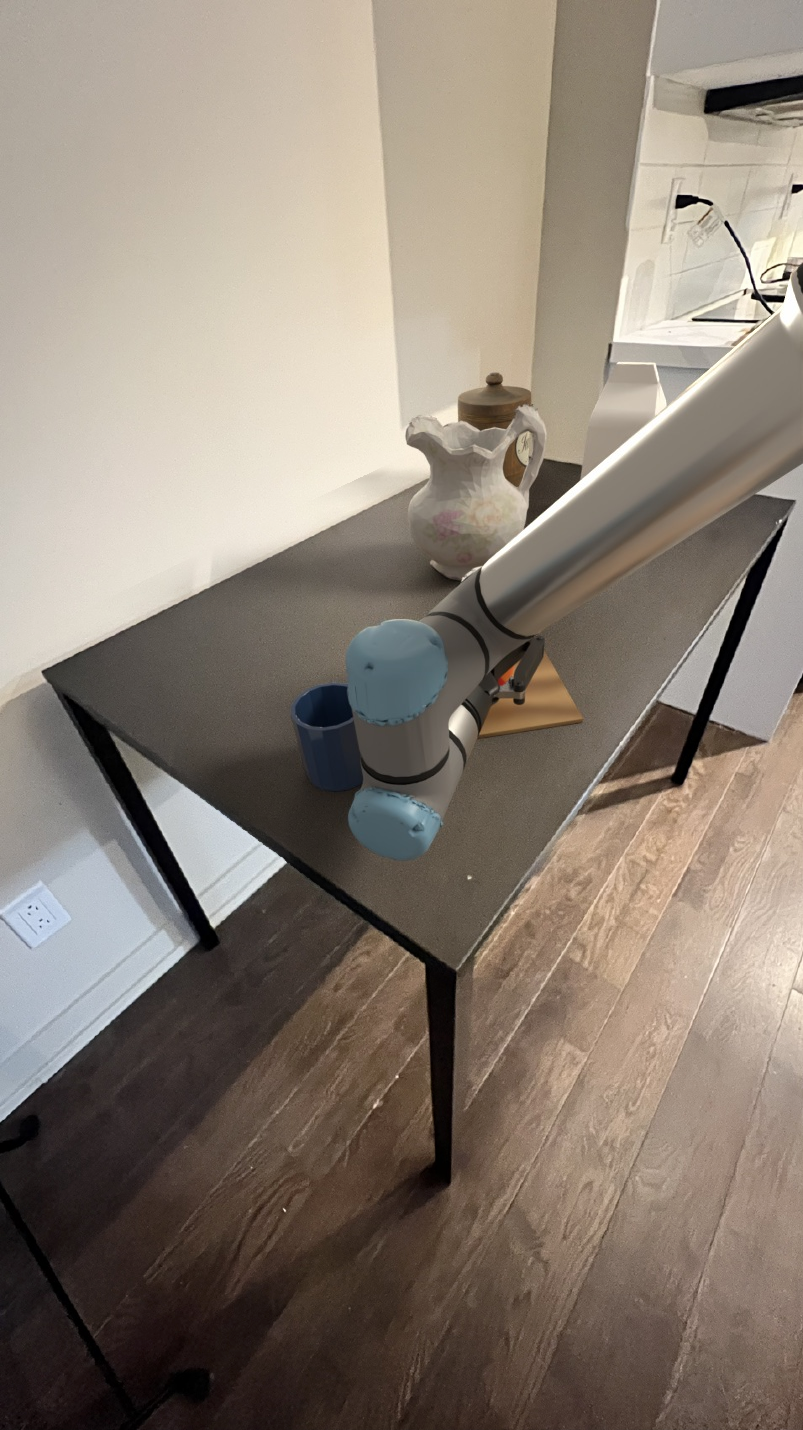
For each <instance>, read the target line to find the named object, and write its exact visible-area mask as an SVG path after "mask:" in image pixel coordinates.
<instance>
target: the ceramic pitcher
mask: <svg viewBox="0 0 803 1430" xmlns="http://www.w3.org/2000/svg"><path fill="white" fill-rule="evenodd" d="M538 410H539V408H536V407H534V403H531V407H530V405H529V404H527V405H522V407H520V406H518V408H516V409H514V411H516V412H515V417H514V419H513V420H512V422H511V424H510V425H509V426H508V428H507V429H501V428H496V427H494V428H490V429H485V430H482V431H480V430H478V429H477V428H475V427H473V426H472V425H470V424H468V423H467V422H464V421H459V422H458V421H457V422H456V421H455V422H453V421H452V422H449V423H446V424H444V425H443V424H442V423H441V422H440V421H439V420H438V418H437V417H434V416H432V415H429V416H425V415H423V414H418V415H416V416H415V417H412V418H411V419H410V420H408V424H409V425H408V426H407V428H405V435H404V436H405V441H406V445H407V446H409V447H411V448H414V449H417V450H418V451H419V452H421V453H422V454H423V455H424V457H425V459H426V461H427V463H428V464H429V473H430V474H429V479H428V481H427V482H426V484H425V485H424V486H422V487H421V488H420V489H419V490H418V491H417V492H416V493H415V494H414V495H413V496H412V498H411V499H410V500H409V504H408V508H407V523H408V529H409V533H410V535H411V537H412V540H413V542H414V543H415V546H417V547H418V549H419V550H420V551H421V552H422V554H423V555H425V556H426V557H427V558H429V559H431V560H430V561H429V564H430V566H432V567H433V568H434V569H435V570H436V571H437V572H439V573H440V574H441V575H443V576H444V577H445V578H447V579H450V580H456V581H462V578H463V577H465V575H466V574H467V573H468V572H469V571H471V570H472V569H474V568H477V567H480V566H483V565H484V564H485V563H486V562H487V561H488V560H489V559H490V558H491V557H493V556H494V555H495V554H496V553H497V552H498V551H500V550H501V549H502V548H503V547H504V546H505V545H506V544H508V543H509V542H510V541H511V540H512V539H513V538H515V537H516V536H517V535H518V534H519V533H520V532H522V531H523V530H524V529H525V525H526V520H527V514H528V509H529V506H530V505H529V504H530V489H531V487H532V485H533V483H534V482H535V480H536V478H537V477H538V475H539V472H540V468H541V466H542V464H543V462H544V458H545V456H546V455H545V454H546V447H547V428H546V423H545V422H544V421H543V420H542V419H541V416H540V415H539V411H538ZM528 431H529V432H530V433H529V434H530V435H531V437H532V438H531V439H532V441H531V443H532V452H531V455H530V458H529V462H528V464H527V467H526V469H525V472H524V475H523V479H522V481H521V484H520V486H519V487H516V486H514V485H513V484H511V483H510V482H509V481H508V480H506V479H505V477H504V474H503V462H504V458H505V453H506V451H507V449H508V447H509V445H510V444H511V443H512V442H513V441H514V440H515V439H516V438H517V437H518V436H520V435H521V434H523V433H525V432H528Z"/></svg>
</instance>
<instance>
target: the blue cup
mask: <svg viewBox="0 0 803 1430" xmlns="http://www.w3.org/2000/svg"><path fill="white" fill-rule="evenodd" d="M347 689H348V683H346V682H345V683H344V682H336V681H335V682H326V683H320V684H316V685H315V686H312V687H310V688H307V689H305V690H304V691H303V692H301V693H300V694H299V695H297V696H296V697H295V699H294V701H293V702H292V704H291V705H290V718H291V723H292V726H293V730H294V735H295V738H296V741H297V746H298V750H299V754H300V757H301V761H302V765H303V769H304V772H305V774H306V777H307V779H308V781H309V782H310V784H312V785H313V786H315V787H316V788H318V789H320V790H323V791H327V792H343V791H348V790H351V789H354V788H357V787H358V786H360V785H362V784H363V773H362V768H361V763H360V750H359V745H358V739H357V734H356V729H355V723H354V718H353V713H352V707H351V705H350V703H349V699H348V695H347Z"/></svg>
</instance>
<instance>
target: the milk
mask: <svg viewBox="0 0 803 1430" xmlns="http://www.w3.org/2000/svg"><path fill="white" fill-rule="evenodd" d="M666 399H667V398H666V396H665V393H664V390H663V387H662V383H661V382H660V377H659V372H658V368H657V364H656V362H650V361H649V362H644V361H643V362H640V361H639V362H637V361H635V362H634V361H618V362H616V363H615V365H614V367H613V369H612V370H611V373H610V374H609V377H608V378H607V380H606V383H605V384H604V387H603V388H602V391H601V392H600V395H599V396H598V399H597V401H596V403H595V405H594V408H593V409H592V412H591V414H590V417H589V420H588V425H587V430H586V438H585V445H584V451H583V459H582V465H581V473H580V478H579V481H581V480H582V479H583V478H584V477H585V476H586V475H588V474H589V473H590V472H591V471H592V470H593V469H595V468H596V467H597V466H598V465H599V464H600V463H602V462H603V461H604V460H605V459H606V458H607V457H608V456H610V455H611V454H612V453H613V452H614V451H615V450H617V449H618V448H619V447H620V446H621V445H622V444H624V443H625V442H626V441H627V440H628V439H629V438H630V437H632V436H633V435H634V434H635V433H636V432H637V431H639V430H640V429H641V428H642V427H643V426H644V425H646V424H647V423H648V422H649V421H650V420H651V419H653V418H654V417H655V416H656V415H657V414H658V413H659V412H661V411H662V410H663V409H664V408H665V407H666V406H668V404H667V400H666Z"/></svg>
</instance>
